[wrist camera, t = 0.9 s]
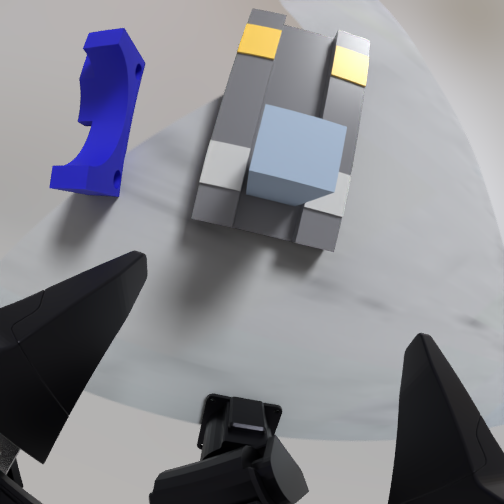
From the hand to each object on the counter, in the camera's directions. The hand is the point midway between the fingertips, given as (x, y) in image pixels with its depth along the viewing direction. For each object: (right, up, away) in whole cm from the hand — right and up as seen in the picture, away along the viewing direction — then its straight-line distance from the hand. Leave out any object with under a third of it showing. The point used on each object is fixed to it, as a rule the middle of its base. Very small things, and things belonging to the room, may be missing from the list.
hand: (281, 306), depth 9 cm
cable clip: (-13, +12, +13) cm, 22 cm away
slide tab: (+1, +7, +13) cm, 14 cm away
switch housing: (+2, +12, +14) cm, 18 cm away
